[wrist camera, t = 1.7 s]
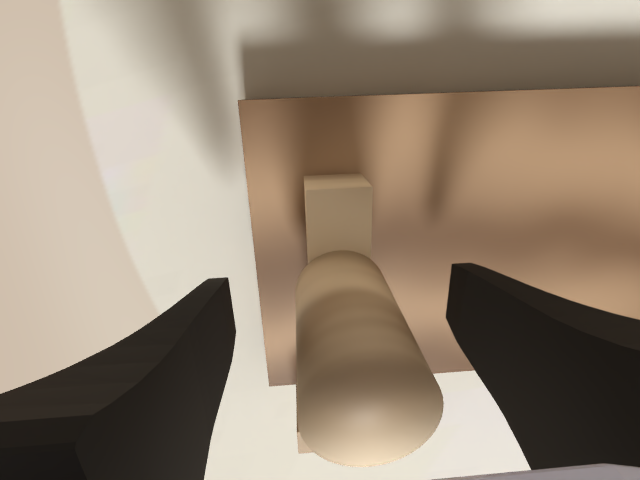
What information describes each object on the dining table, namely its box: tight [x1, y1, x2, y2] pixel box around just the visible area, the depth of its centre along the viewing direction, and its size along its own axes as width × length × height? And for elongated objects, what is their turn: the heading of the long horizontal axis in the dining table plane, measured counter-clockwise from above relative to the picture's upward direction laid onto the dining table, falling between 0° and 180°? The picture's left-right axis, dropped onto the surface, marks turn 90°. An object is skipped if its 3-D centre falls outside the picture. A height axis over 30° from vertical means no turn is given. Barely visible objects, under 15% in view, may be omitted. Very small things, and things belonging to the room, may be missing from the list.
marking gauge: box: [295, 173, 443, 467], centre depth 12 cm, size 11×4×9 cm, turn 2°
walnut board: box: [238, 86, 640, 386], centre depth 15 cm, size 12×20×2 cm, turn 92°
